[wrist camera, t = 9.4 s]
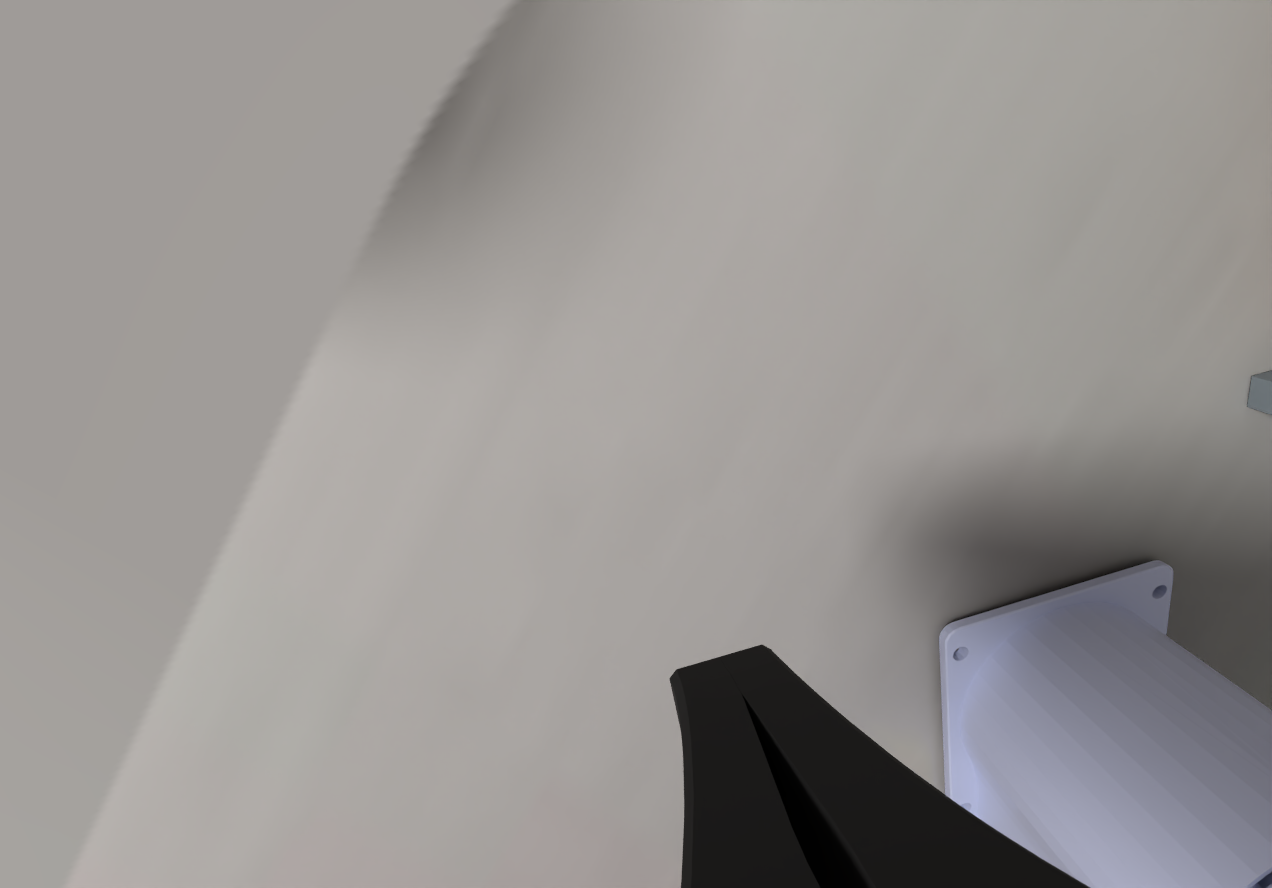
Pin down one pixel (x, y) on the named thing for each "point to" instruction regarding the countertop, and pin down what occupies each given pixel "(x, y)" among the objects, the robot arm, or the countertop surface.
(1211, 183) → the countertop surface
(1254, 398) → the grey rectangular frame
